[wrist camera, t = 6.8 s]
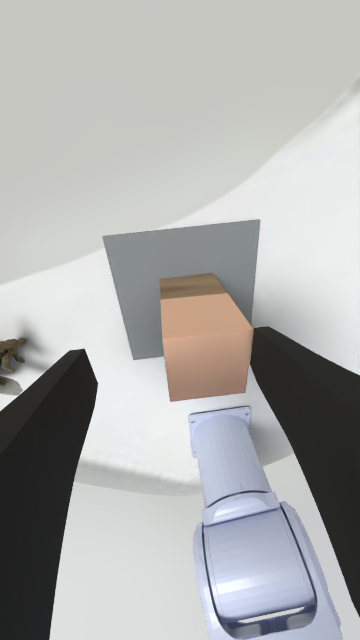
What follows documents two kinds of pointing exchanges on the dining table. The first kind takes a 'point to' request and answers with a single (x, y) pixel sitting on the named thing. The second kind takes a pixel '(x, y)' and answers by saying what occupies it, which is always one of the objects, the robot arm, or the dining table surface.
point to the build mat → (178, 272)
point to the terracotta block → (205, 346)
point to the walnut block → (190, 286)
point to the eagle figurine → (3, 353)
